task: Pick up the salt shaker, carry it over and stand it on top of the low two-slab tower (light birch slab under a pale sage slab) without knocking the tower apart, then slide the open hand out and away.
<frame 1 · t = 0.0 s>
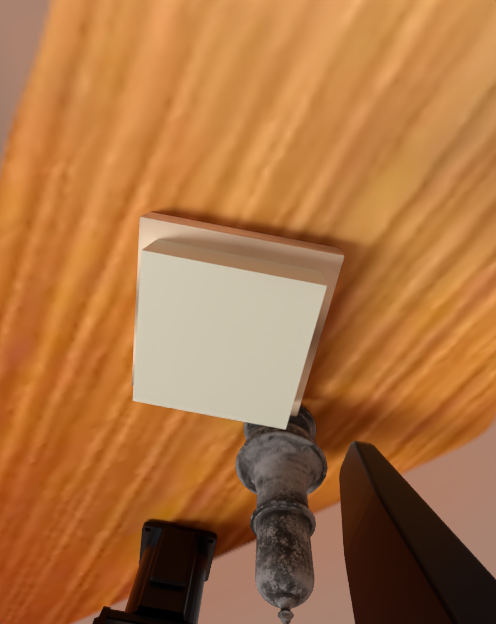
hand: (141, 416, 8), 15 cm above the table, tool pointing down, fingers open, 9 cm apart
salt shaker: (279, 427, 26), on the table
birch slab: (231, 310, 23), on the table, touching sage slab
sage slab: (226, 327, 21), point 2 cm above the table, touching birch slab
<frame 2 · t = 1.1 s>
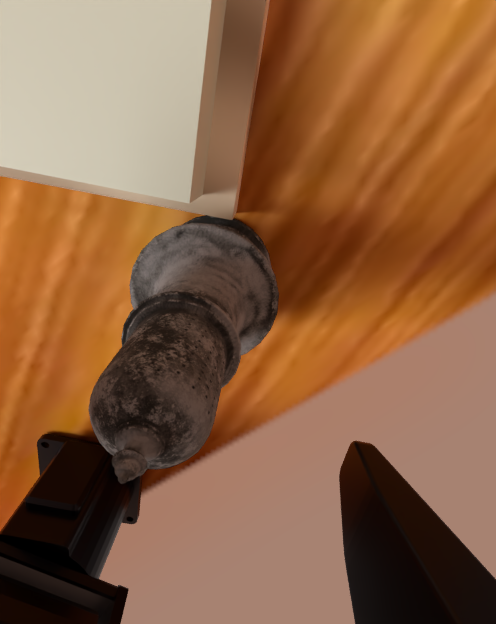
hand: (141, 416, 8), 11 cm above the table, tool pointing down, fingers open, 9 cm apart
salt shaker: (217, 269, 17), on the table
birch slab: (125, 46, 14), on the table, touching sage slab
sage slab: (89, 33, 12), point 2 cm above the table, touching birch slab
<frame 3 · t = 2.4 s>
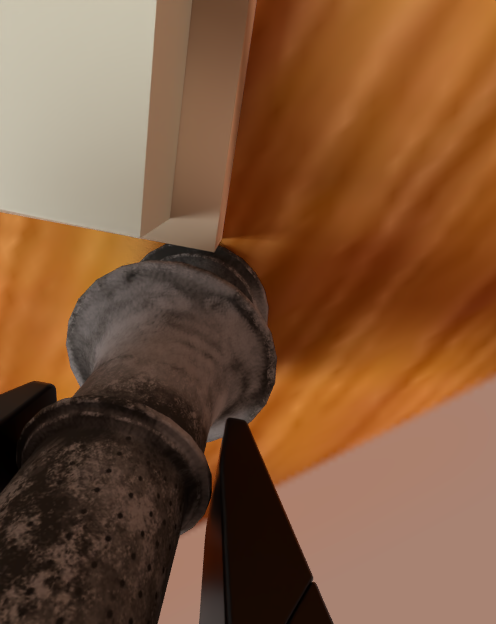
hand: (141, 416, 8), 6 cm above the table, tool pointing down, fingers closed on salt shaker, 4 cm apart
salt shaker: (197, 309, 13), on the table, touching gripper
birch slab: (64, 10, 10), on the table, touching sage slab
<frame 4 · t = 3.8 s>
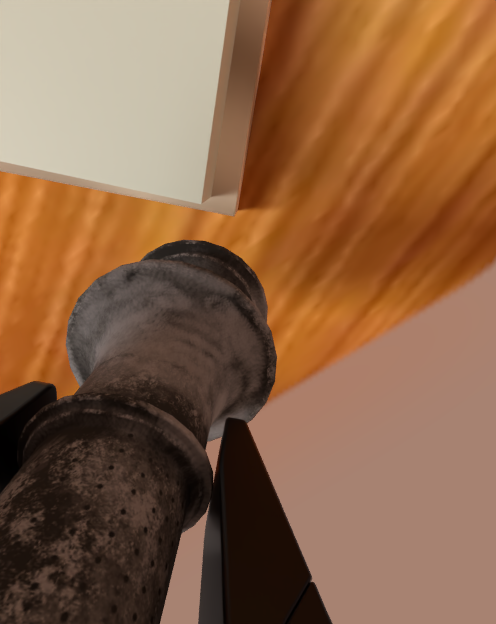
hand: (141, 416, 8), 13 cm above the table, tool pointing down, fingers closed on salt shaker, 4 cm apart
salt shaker: (196, 308, 13), point 6 cm above the table, touching gripper
birch slab: (139, 62, 16), on the table, touching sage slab
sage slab: (116, 55, 14), point 2 cm above the table, touching birch slab
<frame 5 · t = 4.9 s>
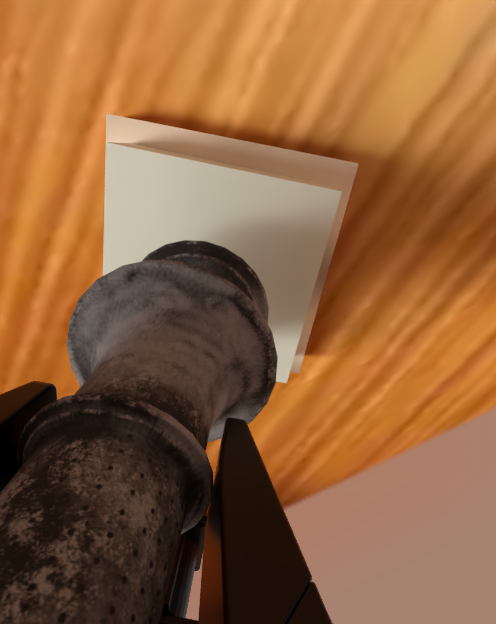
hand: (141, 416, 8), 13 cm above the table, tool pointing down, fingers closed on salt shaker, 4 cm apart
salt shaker: (197, 309, 13), point 7 cm above the table, touching gripper
birch slab: (222, 248, 20), on the table, touching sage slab
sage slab: (215, 261, 18), point 2 cm above the table, touching birch slab
when the fingers open (12 cm above the table, at t = 5.8 s): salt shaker stays where it is, point 5 cm above the table.
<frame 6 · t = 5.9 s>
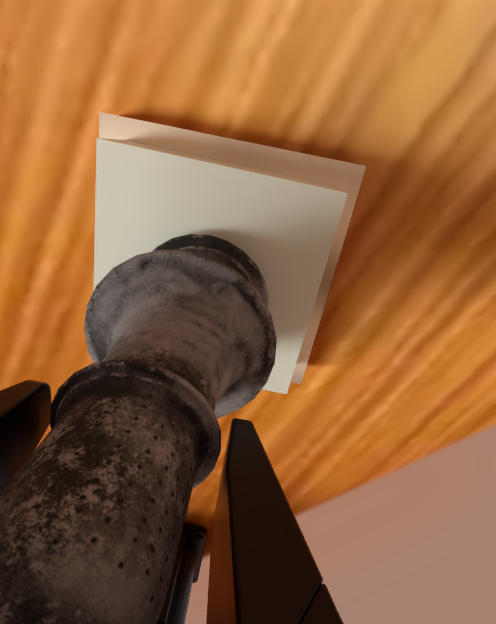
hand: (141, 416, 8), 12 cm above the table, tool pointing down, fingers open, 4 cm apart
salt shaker: (202, 299, 14), point 5 cm above the table
birch slab: (221, 253, 19), on the table, touching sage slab
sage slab: (213, 265, 17), point 2 cm above the table, touching birch slab
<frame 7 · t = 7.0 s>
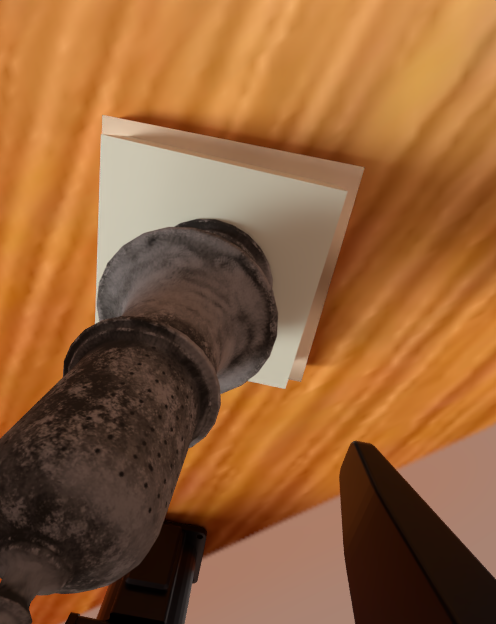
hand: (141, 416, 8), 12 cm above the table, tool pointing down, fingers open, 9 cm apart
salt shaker: (209, 282, 15), point 4 cm above the table, touching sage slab
birch slab: (222, 253, 19), on the table, touching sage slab
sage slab: (214, 261, 17), point 2 cm above the table, touching birch slab, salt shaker
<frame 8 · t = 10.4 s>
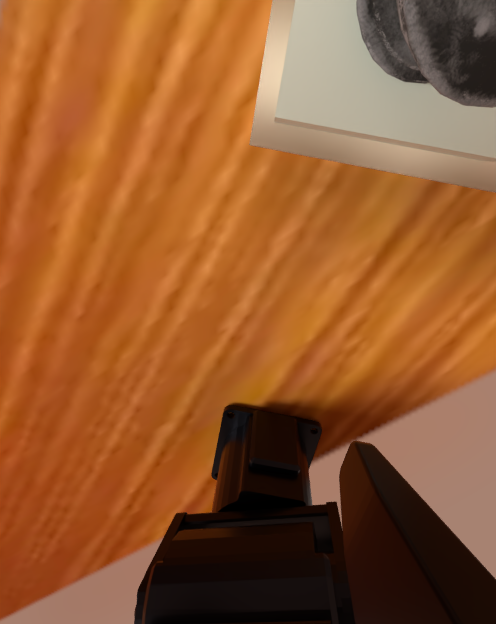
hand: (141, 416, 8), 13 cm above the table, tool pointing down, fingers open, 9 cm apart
birch slab: (399, 32, 16), on the table, touching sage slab
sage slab: (417, 9, 13), point 2 cm above the table, touching birch slab
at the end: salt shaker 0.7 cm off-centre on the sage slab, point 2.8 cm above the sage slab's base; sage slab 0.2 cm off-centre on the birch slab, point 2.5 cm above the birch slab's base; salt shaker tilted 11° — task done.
